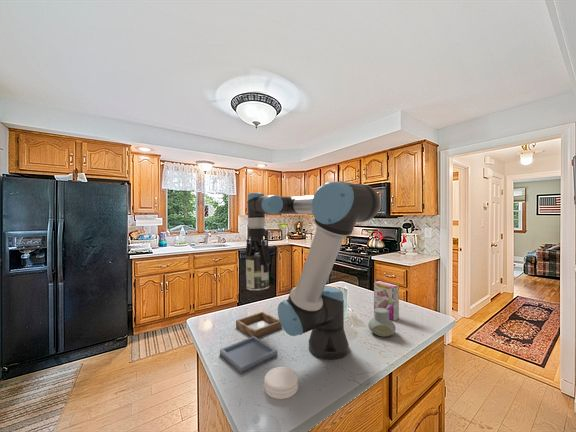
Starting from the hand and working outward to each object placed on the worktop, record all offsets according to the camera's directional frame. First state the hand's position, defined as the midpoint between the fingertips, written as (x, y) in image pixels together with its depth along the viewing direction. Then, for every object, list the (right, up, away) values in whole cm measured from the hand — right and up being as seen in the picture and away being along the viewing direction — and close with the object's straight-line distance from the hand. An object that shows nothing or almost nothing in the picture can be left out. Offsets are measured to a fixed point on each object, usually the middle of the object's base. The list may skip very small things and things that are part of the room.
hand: (257, 277), depth 110 cm
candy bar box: (+62, -23, +13) cm, 68 cm away
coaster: (+12, -24, -37) cm, 45 cm away
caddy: (0, -23, +3) cm, 24 cm away
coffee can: (0, -5, 0) cm, 5 cm away
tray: (-1, -24, -20) cm, 31 cm away
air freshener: (+54, -23, -4) cm, 59 cm away
